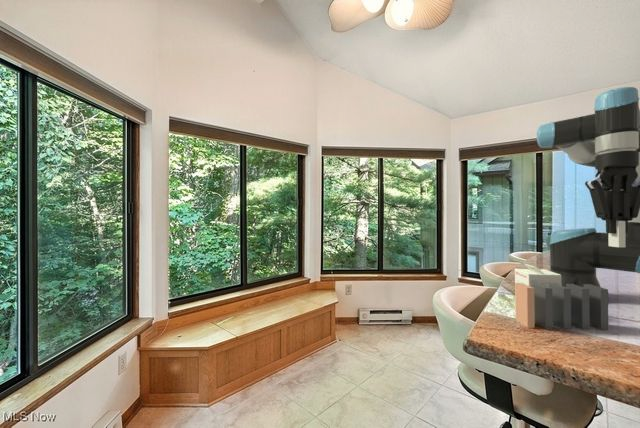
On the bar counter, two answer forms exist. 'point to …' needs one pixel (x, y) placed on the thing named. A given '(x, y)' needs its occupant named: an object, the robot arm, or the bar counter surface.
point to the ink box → (536, 276)
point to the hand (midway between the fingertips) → (616, 246)
